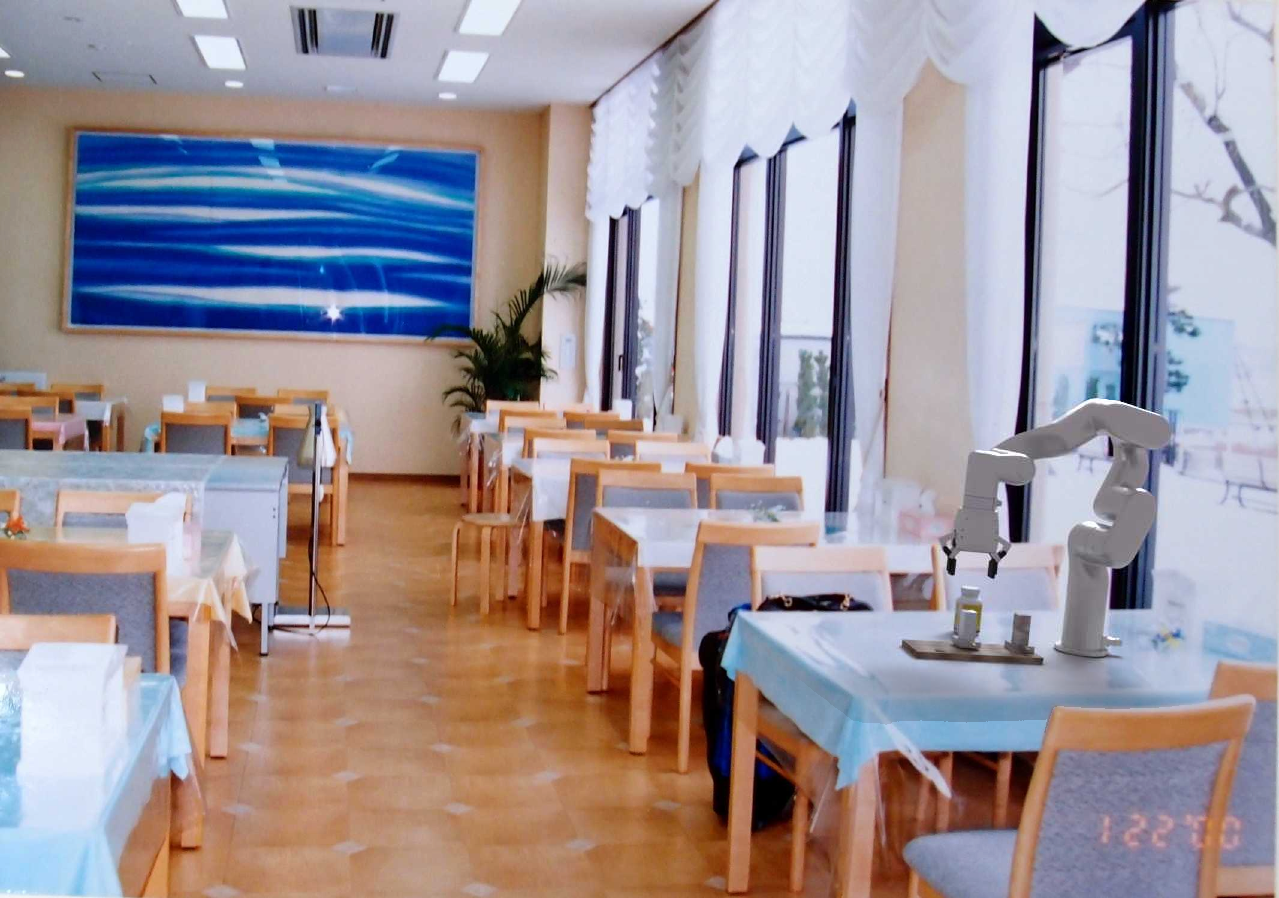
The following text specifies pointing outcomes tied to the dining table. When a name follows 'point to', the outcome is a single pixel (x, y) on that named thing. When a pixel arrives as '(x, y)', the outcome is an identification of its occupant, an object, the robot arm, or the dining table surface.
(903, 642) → the wooden board with posts
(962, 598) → the pill bottle
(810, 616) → the dining table surface
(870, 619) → the dining table surface
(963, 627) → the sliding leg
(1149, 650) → the dining table surface
